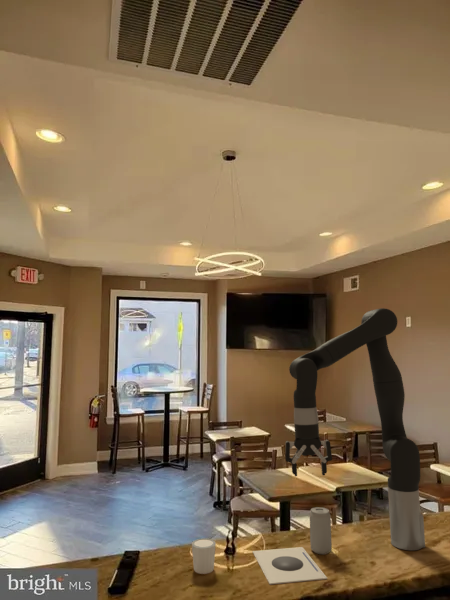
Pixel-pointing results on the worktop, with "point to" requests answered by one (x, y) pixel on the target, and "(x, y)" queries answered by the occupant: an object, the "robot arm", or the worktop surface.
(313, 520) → the beverage can
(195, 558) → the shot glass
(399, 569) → the worktop surface
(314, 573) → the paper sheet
